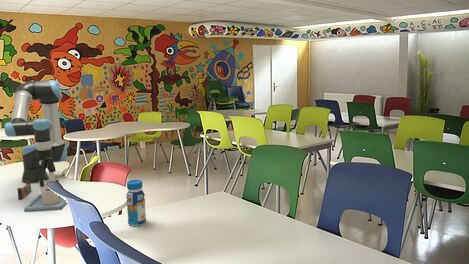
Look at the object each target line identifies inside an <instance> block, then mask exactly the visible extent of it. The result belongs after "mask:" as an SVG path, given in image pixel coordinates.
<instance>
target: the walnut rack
mask: <svg viewBox="0 0 469 264" xmlns="http://www.w3.org/2000/svg"><path fill="white" fill-rule="evenodd" d="M55 181H56V182H58V183H59V184H60V180H59V179H55ZM31 184H32V183H30V181H27V182H26V183H25V185H24V186H23V187H18V188H16V189H17V196H18V201H19V200H20V201H21V200H23V199H24V198H26V197H27V196H28V195H29V194H30V193H32V185H31Z"/></svg>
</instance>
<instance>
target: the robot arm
mask: <svg viewBox="0 0 469 264" xmlns="http://www.w3.org/2000/svg"><path fill="white" fill-rule="evenodd" d="M13 99H14V104H13V109H12V115H11V118H10V119H11V120H10V121H9V122H5V124H4V133H5V135H6V137H9V138H10V137H11V138H12V137H13V138H16V137H27V136H34V143H31V144H27V145H25V146H23V147H22V148H21V152H22V153H21V156H22V164H23V173H22V177H21V181H22V183H24V184H27V183H26V182H27V181H30V184H35V183H36V184H38V183H39V190H40V191H39V192H40V194H41V193H43V192H47V191H46V184H47V183H46V181H47V180H48V181H55V180H56V178H55V173H56V171H57V169H56V166H55V163H60V162H61V163H62V162H66V161H67V158H68V143H65V142H66V141H65V140H64V139H62V130H61V122H60V114H59V113H60V112H59V106H58V104H59V103H60V102H61V100H62V99H63V95H62V90H61V85H60V83H59V81H57V80H55V79H54V80H51V79H47V80H45V79H44V80H30V81H26V82H23V83H21V84H20V85H19V86H18V87H17V89H15V92H14V95H13ZM32 101H38V102H39V104H40V105H41V106H42V111H43V112H42V113H43V118H37V119H34V120H30V121H28V116H29V109H30V103H32ZM46 170H47V171H48V172H47V171H46Z"/></svg>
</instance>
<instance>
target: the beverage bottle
mask: <svg viewBox="0 0 469 264" xmlns="http://www.w3.org/2000/svg"><path fill="white" fill-rule="evenodd" d="M126 188H127V190H128V191H127V192H126V196H125V198H126V202H125V203H126V206H127V208H126V209H127V223H128V225H129V226H130V225H131V226H130V227H140V226H139V225H141V226H142V225H143V226H144V224H146V223H147V217H146V199H145V192H144V190H143V181H142V179H131V180H129V181H127V182H126Z"/></svg>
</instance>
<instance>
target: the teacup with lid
mask: <svg viewBox="0 0 469 264" xmlns="http://www.w3.org/2000/svg"><path fill="white" fill-rule="evenodd" d="M47 182H50V181H49V180H48V181H47ZM46 191H47V192H43V193H41V192H40V195H42V203H43V204H44V205H53V204H57V203H59V202H60V196H58V195H57V194H55V193H54V192H53V191H51V190H50V189H49V188H48V186H47V183H46Z"/></svg>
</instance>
